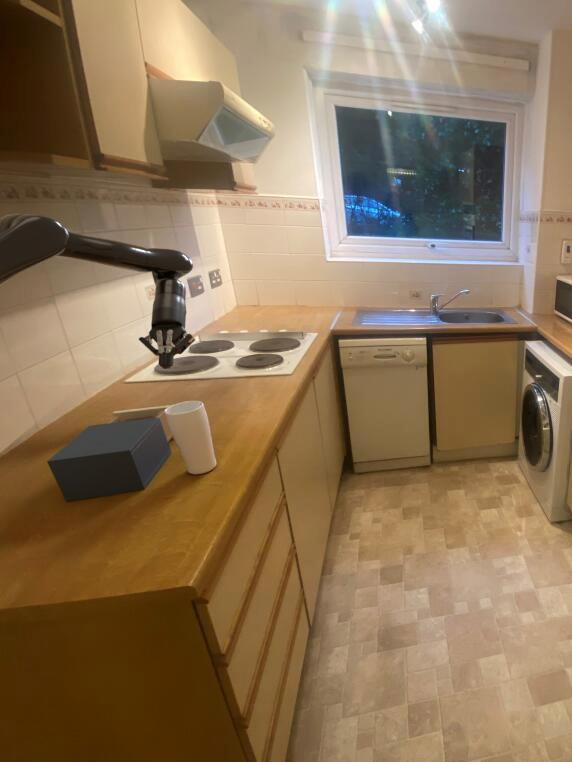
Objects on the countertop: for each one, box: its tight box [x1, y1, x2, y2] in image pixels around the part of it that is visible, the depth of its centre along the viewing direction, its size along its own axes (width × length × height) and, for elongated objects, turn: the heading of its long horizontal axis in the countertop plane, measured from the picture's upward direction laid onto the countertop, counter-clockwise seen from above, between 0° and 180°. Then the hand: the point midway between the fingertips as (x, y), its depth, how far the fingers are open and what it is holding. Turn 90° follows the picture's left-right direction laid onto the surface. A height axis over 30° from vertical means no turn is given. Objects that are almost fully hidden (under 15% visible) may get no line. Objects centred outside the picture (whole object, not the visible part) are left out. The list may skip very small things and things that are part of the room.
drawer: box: [105, 404, 173, 443], centre depth 101 cm, size 18×12×7 cm, turn 19°
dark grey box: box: [46, 418, 172, 503], centre depth 91 cm, size 15×13×9 cm
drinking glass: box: [164, 400, 218, 475], centre depth 92 cm, size 7×7×15 cm
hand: (165, 367), depth 117 cm, fingers closed
